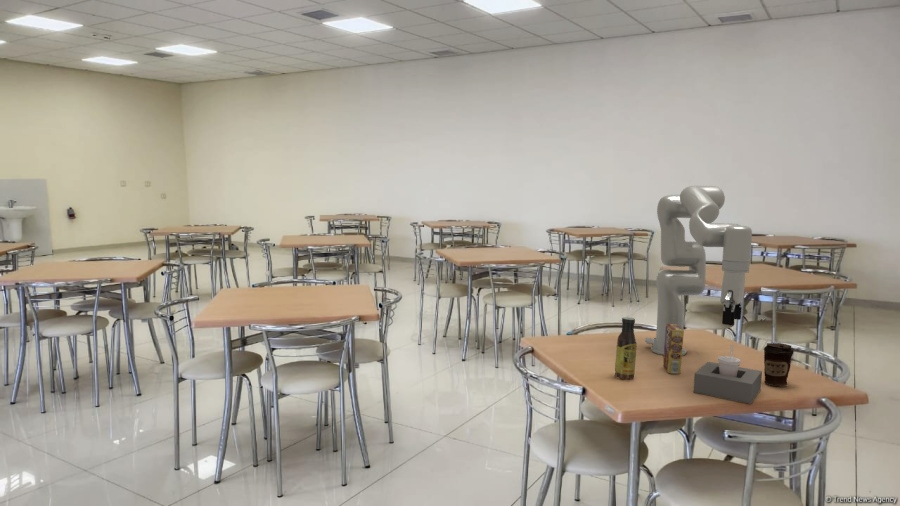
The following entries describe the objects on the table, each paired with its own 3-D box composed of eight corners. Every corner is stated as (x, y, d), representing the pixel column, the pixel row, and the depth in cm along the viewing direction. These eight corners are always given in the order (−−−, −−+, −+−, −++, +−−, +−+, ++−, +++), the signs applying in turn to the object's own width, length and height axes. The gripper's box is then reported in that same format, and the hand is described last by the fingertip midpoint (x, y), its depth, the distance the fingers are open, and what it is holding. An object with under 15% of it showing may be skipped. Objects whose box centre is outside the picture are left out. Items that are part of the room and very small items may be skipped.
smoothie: (741, 393, 181) (744, 348, 180) (718, 391, 182) (721, 347, 181) (735, 386, 187) (738, 343, 186) (713, 385, 189) (716, 341, 187)
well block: (693, 392, 183) (694, 373, 183) (706, 379, 196) (707, 361, 195) (750, 404, 174) (752, 384, 173) (760, 389, 187) (761, 370, 186)
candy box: (681, 374, 201) (684, 330, 199) (668, 373, 201) (670, 329, 200) (675, 366, 210) (677, 324, 208) (662, 366, 210) (665, 323, 208)
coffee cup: (790, 390, 186) (793, 349, 185) (760, 385, 190) (763, 345, 189) (791, 383, 193) (794, 343, 192) (762, 378, 198) (765, 340, 196)
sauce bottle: (624, 381, 193) (627, 321, 191) (610, 375, 198) (613, 317, 196) (639, 378, 196) (642, 319, 194) (625, 373, 201) (628, 315, 199)
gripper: (728, 262, 190) (724, 315, 192) (715, 268, 176) (711, 325, 178) (754, 264, 185) (750, 318, 187) (743, 271, 172) (739, 329, 174)
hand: (731, 321), depth 183 cm, fingers open, 9 cm apart
